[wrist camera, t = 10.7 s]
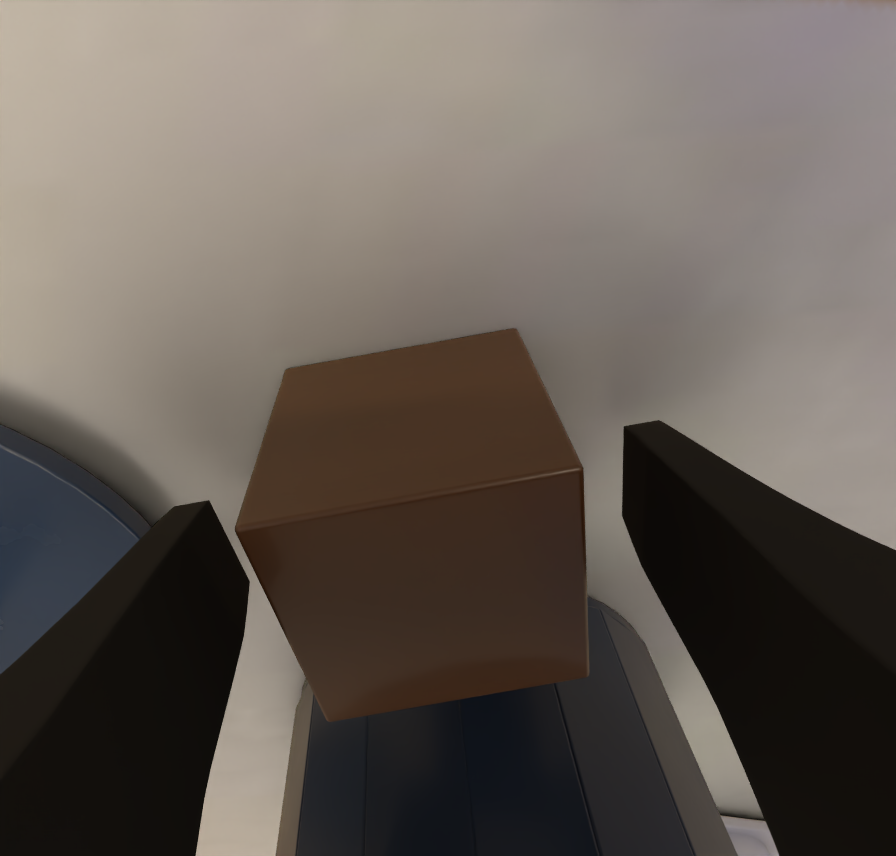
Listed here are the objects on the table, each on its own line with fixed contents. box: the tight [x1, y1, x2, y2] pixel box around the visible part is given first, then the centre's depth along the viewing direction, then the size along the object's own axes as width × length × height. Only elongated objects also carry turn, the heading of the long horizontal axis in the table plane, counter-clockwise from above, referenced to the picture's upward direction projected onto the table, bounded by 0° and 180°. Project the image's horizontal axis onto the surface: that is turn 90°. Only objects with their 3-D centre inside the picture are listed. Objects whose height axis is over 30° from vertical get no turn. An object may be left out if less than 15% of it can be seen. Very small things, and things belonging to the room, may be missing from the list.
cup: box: [276, 596, 738, 856], centre depth 14 cm, size 10×10×7 cm
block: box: [235, 328, 589, 722], centre depth 10 cm, size 4×4×4 cm
